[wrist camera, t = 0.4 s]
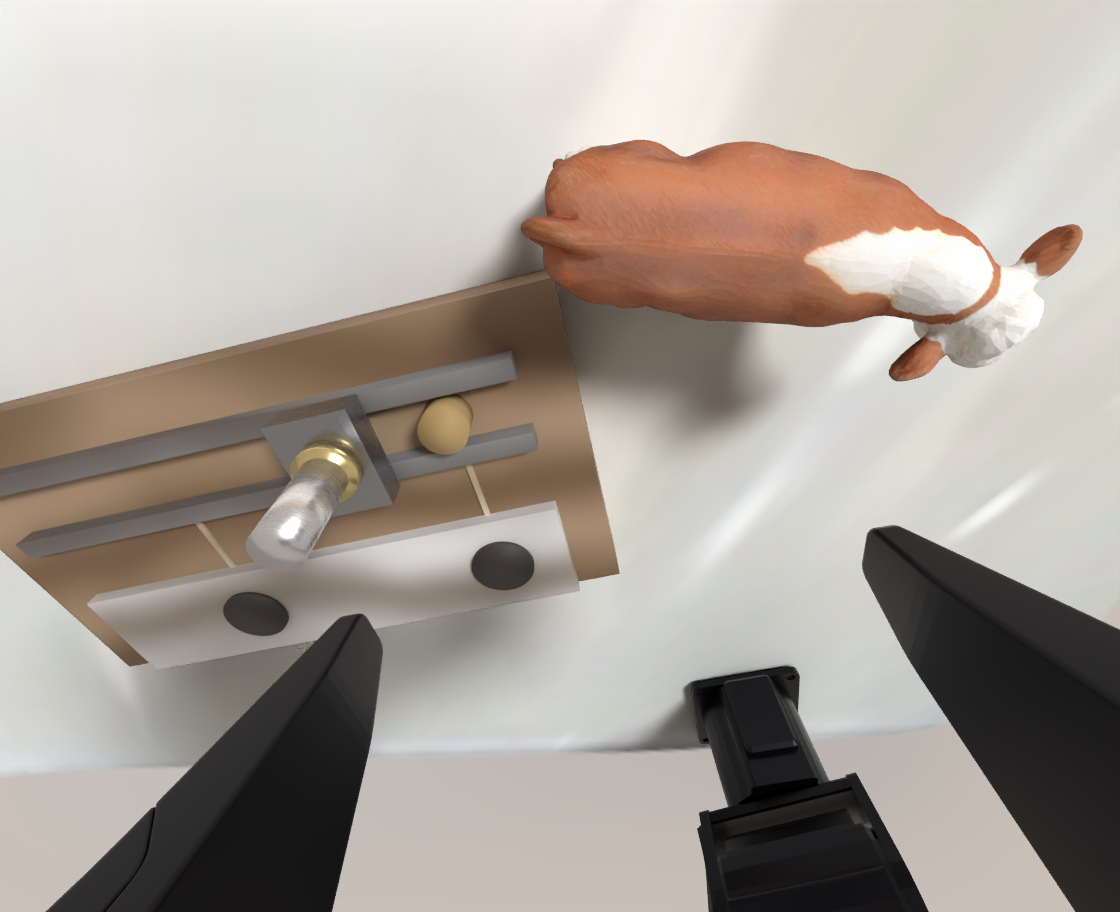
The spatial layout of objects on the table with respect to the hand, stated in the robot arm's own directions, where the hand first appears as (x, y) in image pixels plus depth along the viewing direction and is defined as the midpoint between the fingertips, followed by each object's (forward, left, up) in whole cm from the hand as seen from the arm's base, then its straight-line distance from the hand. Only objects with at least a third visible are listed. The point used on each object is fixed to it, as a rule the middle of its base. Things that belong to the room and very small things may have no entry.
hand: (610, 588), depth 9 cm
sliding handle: (-1, +9, -10) cm, 13 cm away
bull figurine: (+3, -6, -13) cm, 14 cm away
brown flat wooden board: (-4, +13, -12) cm, 18 cm away
